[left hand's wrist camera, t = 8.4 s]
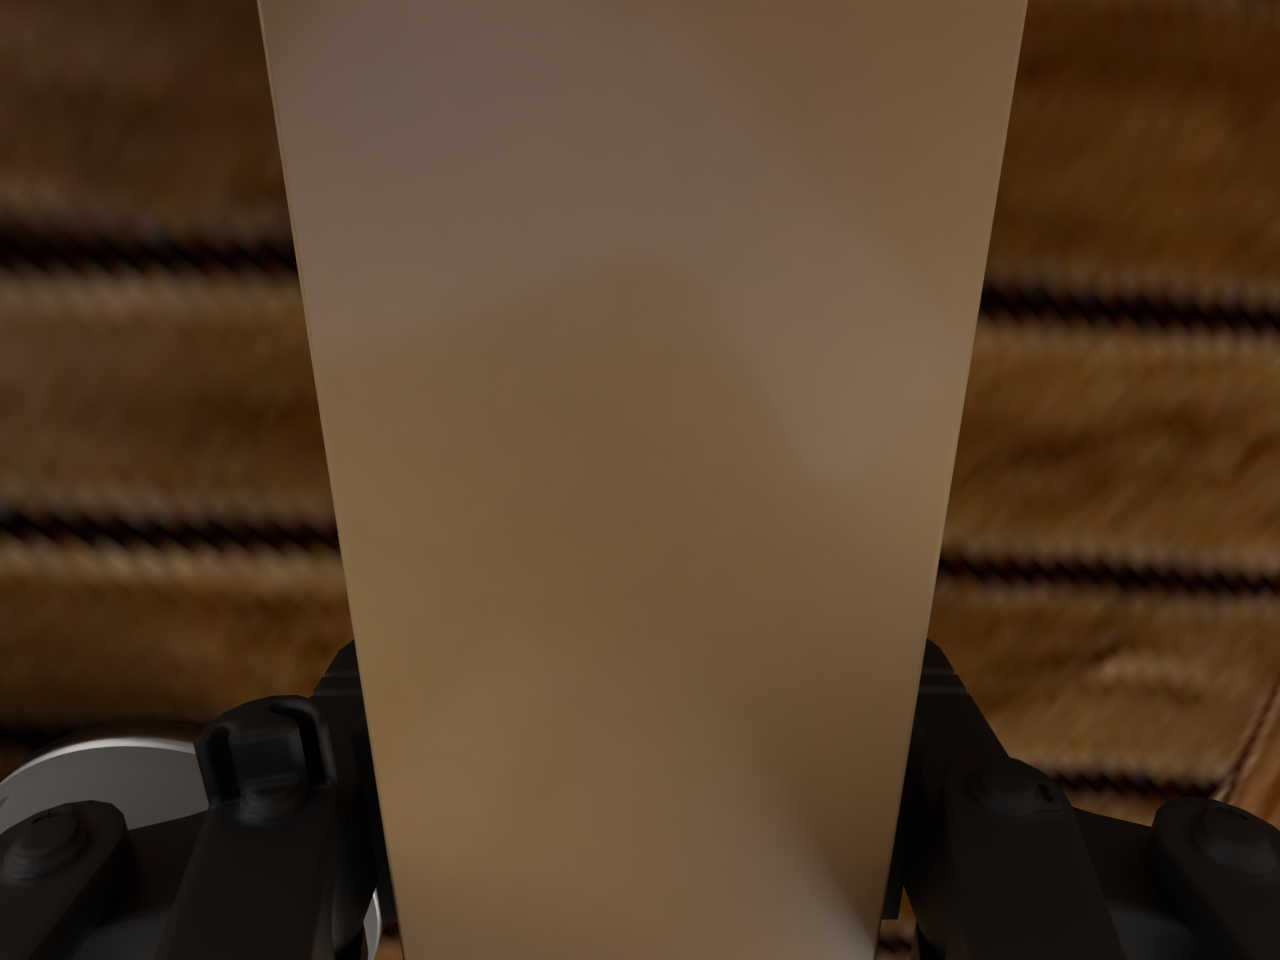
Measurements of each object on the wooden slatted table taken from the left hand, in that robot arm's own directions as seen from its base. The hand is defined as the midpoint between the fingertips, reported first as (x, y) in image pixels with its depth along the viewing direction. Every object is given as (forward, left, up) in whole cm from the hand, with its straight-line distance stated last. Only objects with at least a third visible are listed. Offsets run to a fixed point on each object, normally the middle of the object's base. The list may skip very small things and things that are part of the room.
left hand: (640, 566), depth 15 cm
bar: (0, +8, -1) cm, 8 cm away
